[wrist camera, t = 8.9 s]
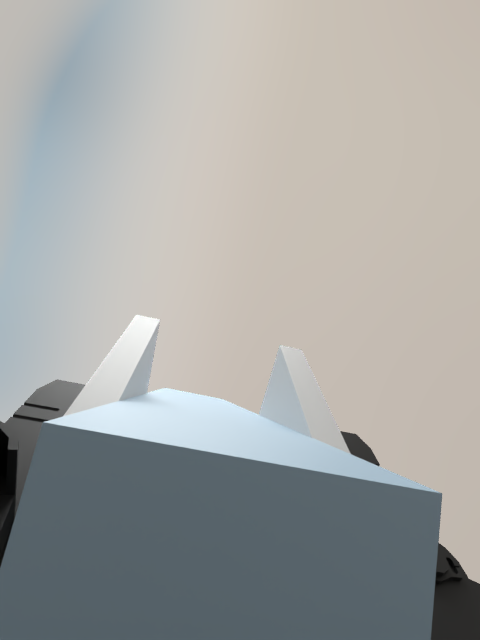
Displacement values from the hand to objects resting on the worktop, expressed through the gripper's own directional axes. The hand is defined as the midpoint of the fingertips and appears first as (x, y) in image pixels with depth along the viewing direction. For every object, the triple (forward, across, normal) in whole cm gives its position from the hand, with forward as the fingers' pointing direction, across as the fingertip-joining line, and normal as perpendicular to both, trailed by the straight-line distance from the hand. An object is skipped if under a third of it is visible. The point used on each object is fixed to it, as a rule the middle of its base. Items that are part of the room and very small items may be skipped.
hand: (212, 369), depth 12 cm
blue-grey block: (0, 0, -5) cm, 5 cm away
